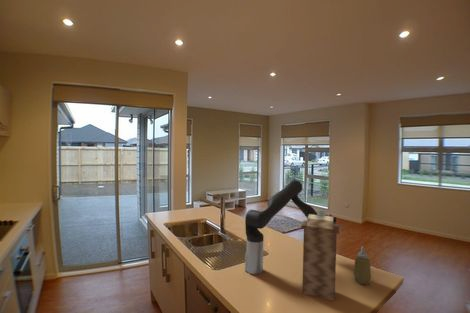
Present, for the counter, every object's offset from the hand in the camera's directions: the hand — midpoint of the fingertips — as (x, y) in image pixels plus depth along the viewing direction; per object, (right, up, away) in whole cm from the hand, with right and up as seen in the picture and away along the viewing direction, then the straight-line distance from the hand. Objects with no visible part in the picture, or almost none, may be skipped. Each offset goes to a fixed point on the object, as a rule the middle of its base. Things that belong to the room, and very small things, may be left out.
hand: (321, 215), depth 122 cm
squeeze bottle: (+21, -34, +1) cm, 40 cm away
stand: (-5, -34, -10) cm, 36 cm away
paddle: (-3, -2, -6) cm, 7 cm away
